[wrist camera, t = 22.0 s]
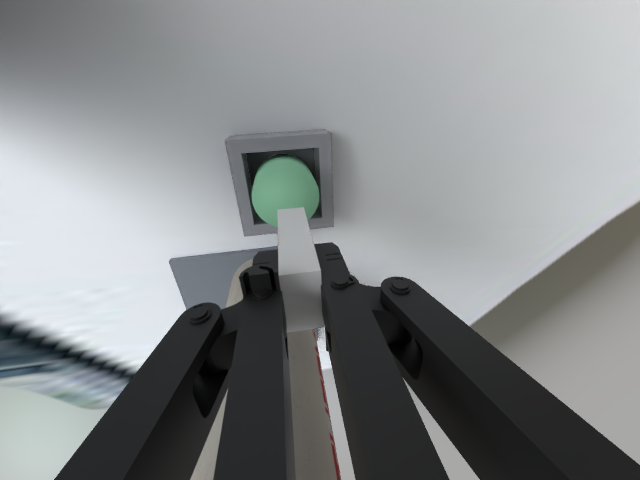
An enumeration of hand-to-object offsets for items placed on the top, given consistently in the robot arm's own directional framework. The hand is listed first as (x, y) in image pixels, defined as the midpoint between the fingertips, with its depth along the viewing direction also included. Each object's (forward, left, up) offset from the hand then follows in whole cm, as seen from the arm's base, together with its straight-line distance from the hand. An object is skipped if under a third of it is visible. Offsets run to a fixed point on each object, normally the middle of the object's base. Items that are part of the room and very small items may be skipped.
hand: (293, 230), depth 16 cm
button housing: (0, 0, -11) cm, 11 cm away
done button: (0, 0, -9) cm, 9 cm away
